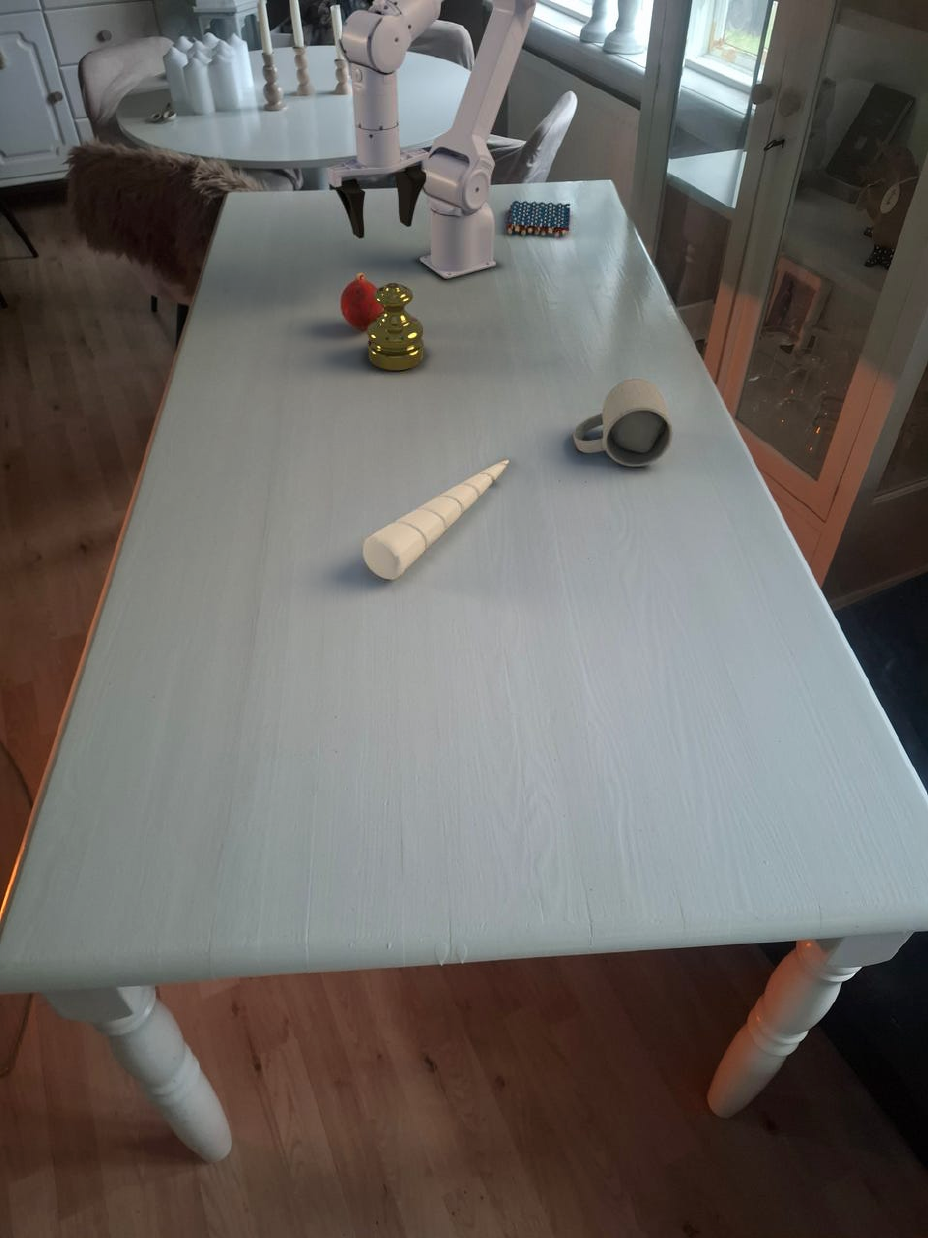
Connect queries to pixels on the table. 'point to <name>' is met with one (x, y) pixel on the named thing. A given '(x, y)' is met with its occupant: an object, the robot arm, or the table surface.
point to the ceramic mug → (630, 425)
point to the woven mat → (538, 217)
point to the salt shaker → (394, 331)
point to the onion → (360, 303)
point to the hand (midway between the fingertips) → (382, 229)
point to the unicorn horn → (423, 526)
